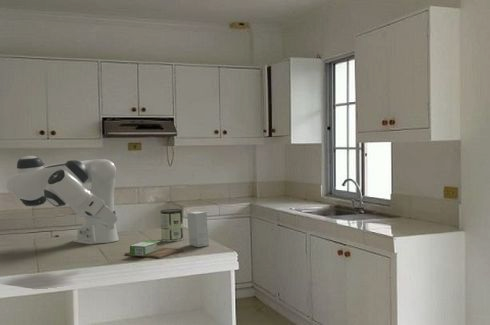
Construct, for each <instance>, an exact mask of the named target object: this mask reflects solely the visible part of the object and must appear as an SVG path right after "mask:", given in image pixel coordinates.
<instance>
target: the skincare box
mask: <svg viewBox="0 0 490 325" xmlns="http://www.w3.org/2000/svg"><path fill="white" fill-rule="evenodd" d="M207 215H208V214H207V211H199V210H198V211H190V212H187V228H188V229H187V230H188V242H189V243H188V244H189V246H192V247H196V248H200V247H208V246H210V245H209V242H210V241H209V227H208V216H207Z"/></svg>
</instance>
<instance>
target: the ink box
mask: <svg viewBox="0 0 490 325" xmlns="http://www.w3.org/2000/svg"><path fill="white" fill-rule="evenodd" d="M160 242H162V240H150V239H146V240H144V241H141V242H138V243H134V244H132V245H129V252H130V255H135V256H134V257H138V256H145V255H148V254H151V253H154V252H157V247H158V244H159V243H160Z"/></svg>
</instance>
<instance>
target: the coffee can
mask: <svg viewBox="0 0 490 325" xmlns="http://www.w3.org/2000/svg"><path fill="white" fill-rule="evenodd" d="M159 212H160V228H161V242H165V243H166V242H167V243H168V242H169V243H170V242H172V243H173V241H174V242H181V241H183V240H184V227H183V209H182V208H167V209H162V210H160V211H159Z"/></svg>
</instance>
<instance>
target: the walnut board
mask: <svg viewBox="0 0 490 325" xmlns="http://www.w3.org/2000/svg"><path fill="white" fill-rule="evenodd" d="M182 252H184V248H175V247H174V248H172V247H161V246H157V252H154V253H151V254H148V255H145V256H137V257H139V258H140V257H141V258H151V259H163V258H167V257H169V256H172V255H175V254H178V253H179V254H180V253H182ZM124 256H129V257H136V256H135V255H130V251H127V252H125V253H124Z"/></svg>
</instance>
